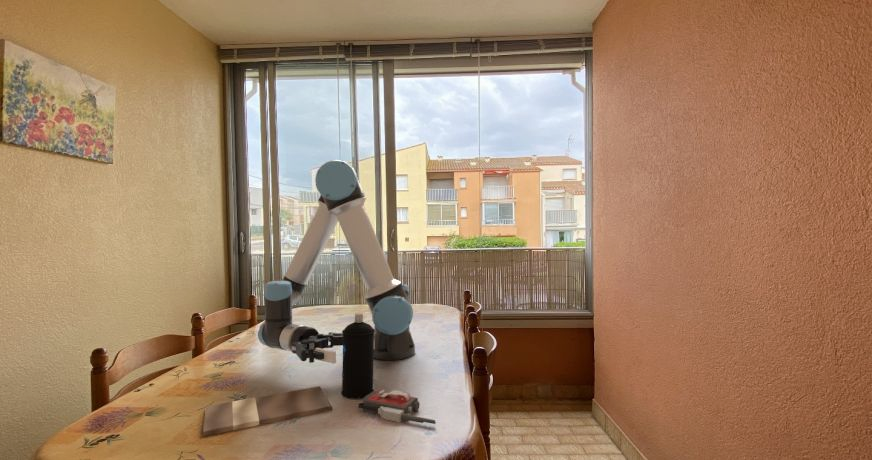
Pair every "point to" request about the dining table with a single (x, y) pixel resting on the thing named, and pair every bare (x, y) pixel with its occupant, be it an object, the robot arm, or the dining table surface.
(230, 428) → the board
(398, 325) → the robot arm
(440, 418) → the dining table surface
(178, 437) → the dining table surface
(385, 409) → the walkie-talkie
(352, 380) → the aerosol can
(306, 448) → the dining table surface
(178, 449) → the dining table surface
